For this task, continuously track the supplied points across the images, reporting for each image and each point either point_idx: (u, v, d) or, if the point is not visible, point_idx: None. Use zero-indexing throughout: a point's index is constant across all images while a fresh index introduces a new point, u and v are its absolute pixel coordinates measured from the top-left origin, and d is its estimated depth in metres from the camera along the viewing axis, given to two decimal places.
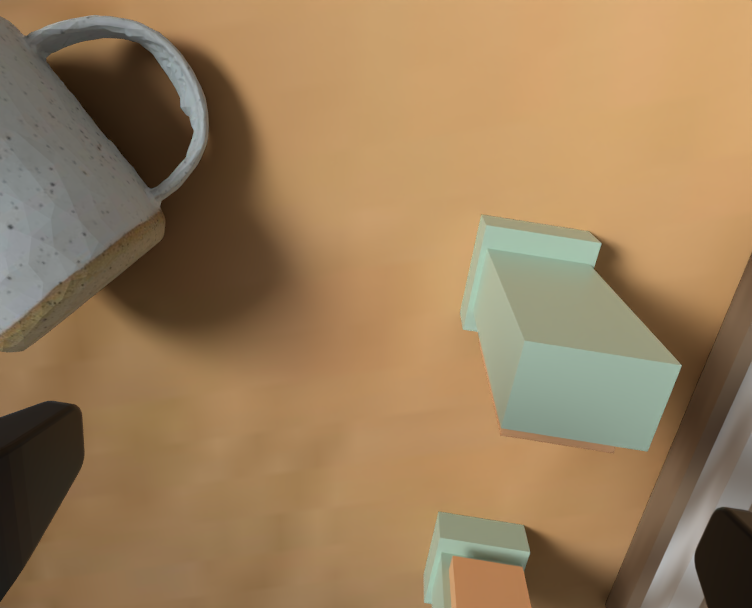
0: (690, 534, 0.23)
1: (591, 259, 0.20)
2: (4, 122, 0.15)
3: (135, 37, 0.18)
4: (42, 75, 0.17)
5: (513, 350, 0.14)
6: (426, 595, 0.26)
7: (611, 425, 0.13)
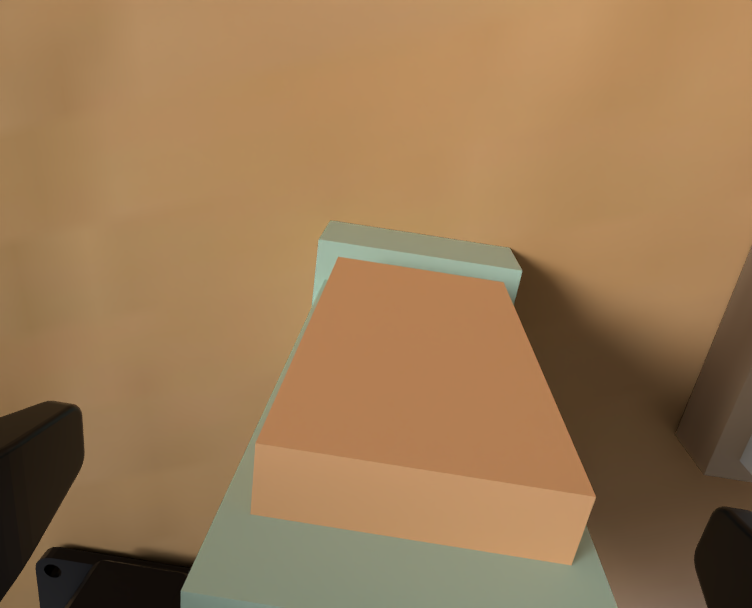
0: None
1: None
2: None
3: None
4: None
5: None
6: None
7: None
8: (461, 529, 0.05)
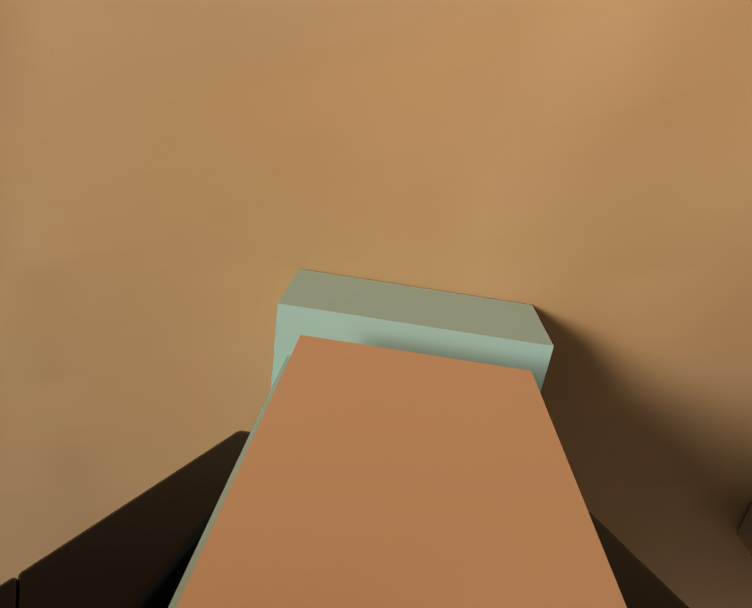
0: None
1: None
2: None
3: None
4: None
5: None
6: None
7: None
8: None
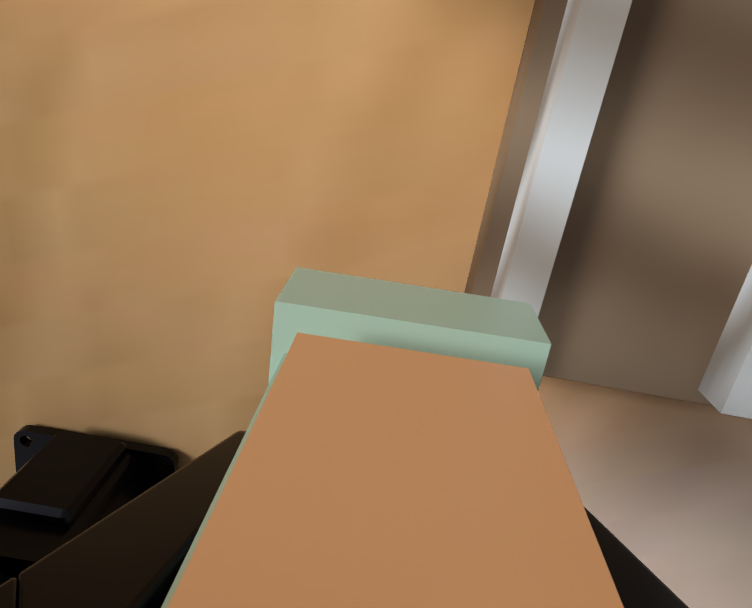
0: (534, 156, 0.16)
1: None
2: None
3: None
4: None
5: None
6: None
7: None
8: None
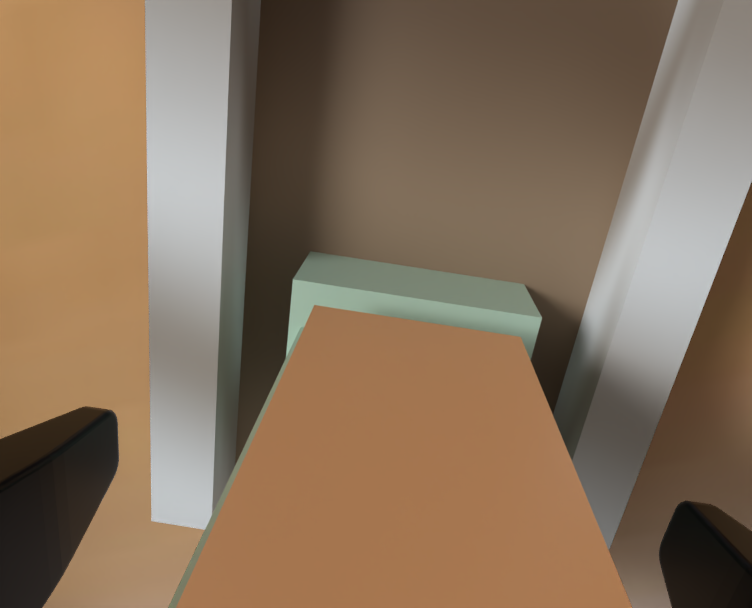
0: None
1: None
2: None
3: None
4: None
5: None
6: None
7: None
8: None
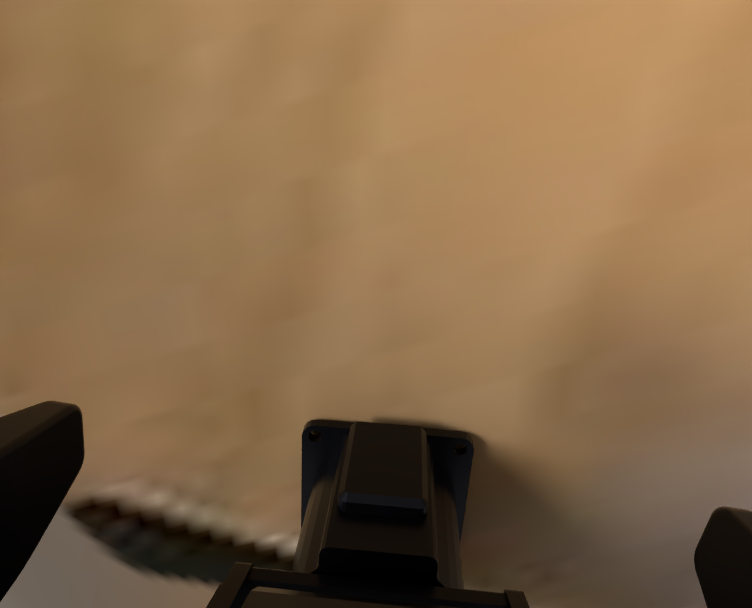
0: None
1: None
2: None
3: None
4: None
5: None
6: None
7: None
8: None
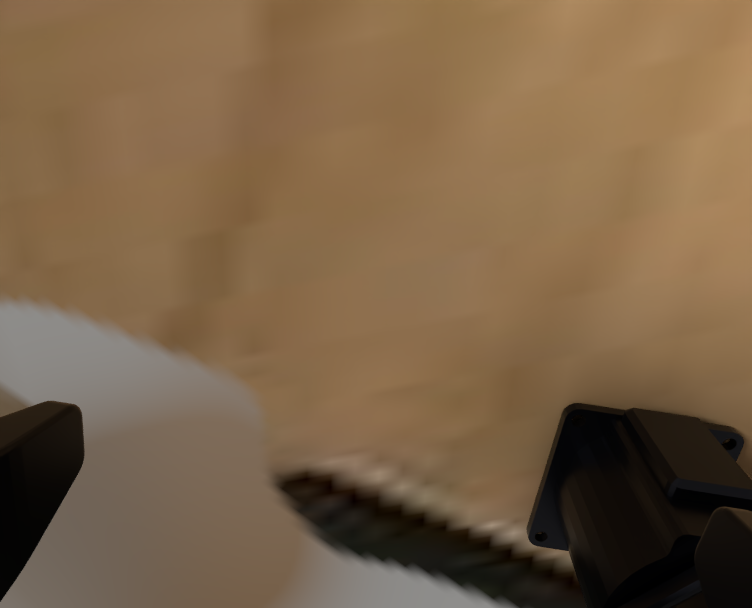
0: None
1: None
2: None
3: None
4: None
5: None
6: None
7: None
8: None
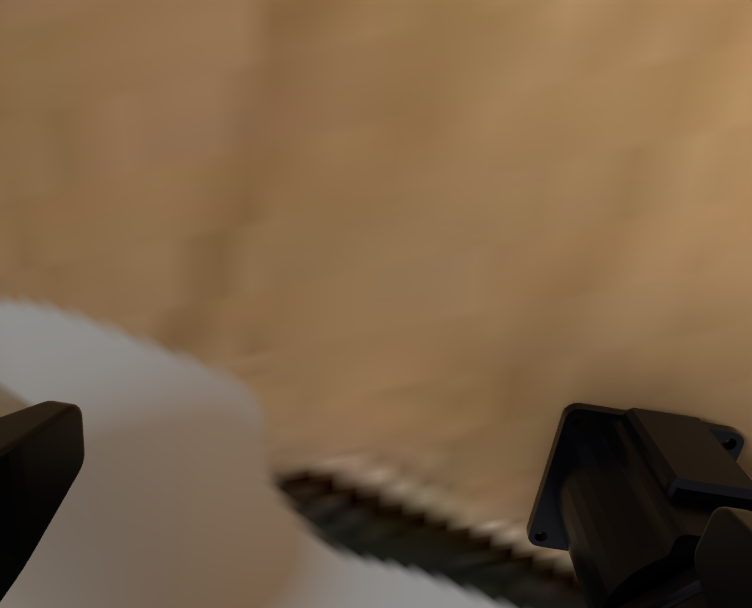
0: None
1: None
2: None
3: None
4: None
5: None
6: None
7: None
8: None
